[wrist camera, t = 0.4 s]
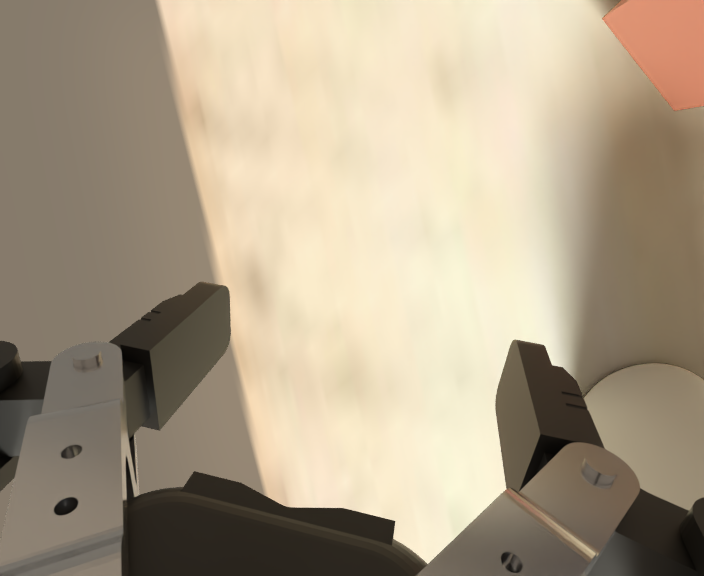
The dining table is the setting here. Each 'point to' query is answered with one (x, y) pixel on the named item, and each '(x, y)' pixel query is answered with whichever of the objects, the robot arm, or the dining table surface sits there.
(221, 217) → the dining table surface
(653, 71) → the salmon square plate
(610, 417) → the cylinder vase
